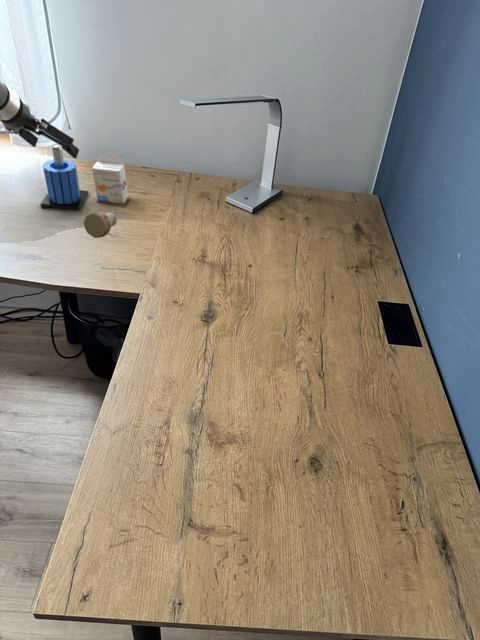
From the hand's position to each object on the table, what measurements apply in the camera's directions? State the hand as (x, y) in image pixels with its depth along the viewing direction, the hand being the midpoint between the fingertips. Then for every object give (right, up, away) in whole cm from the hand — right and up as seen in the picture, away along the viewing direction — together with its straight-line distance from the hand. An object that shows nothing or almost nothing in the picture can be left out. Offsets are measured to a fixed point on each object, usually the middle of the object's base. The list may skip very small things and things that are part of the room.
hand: (56, 148), depth 144 cm
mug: (+13, -24, +1) cm, 27 cm away
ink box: (+12, -11, +14) cm, 22 cm away
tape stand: (-2, -12, +11) cm, 16 cm away
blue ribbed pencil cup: (-1, -11, +10) cm, 15 cm away
